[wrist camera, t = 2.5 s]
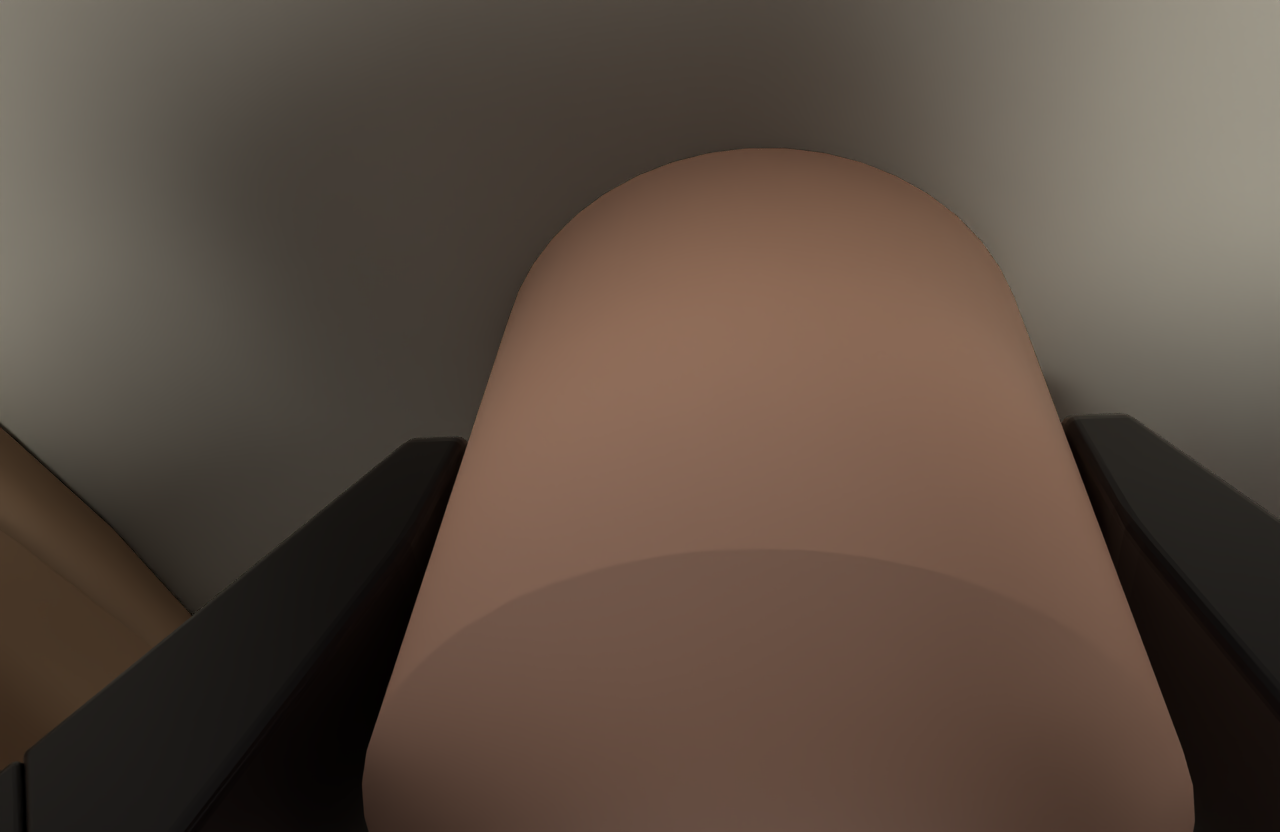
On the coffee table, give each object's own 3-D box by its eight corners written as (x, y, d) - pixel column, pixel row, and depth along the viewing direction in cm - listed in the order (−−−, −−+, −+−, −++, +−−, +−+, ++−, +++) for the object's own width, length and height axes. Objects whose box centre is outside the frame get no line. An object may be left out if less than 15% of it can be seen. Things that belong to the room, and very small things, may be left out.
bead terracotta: (1052, 128, 8) (1282, 536, 4) (1003, 576, 10) (1127, 1062, 7) (458, 165, 8) (261, 558, 5) (542, 585, 10) (449, 1041, 7)
